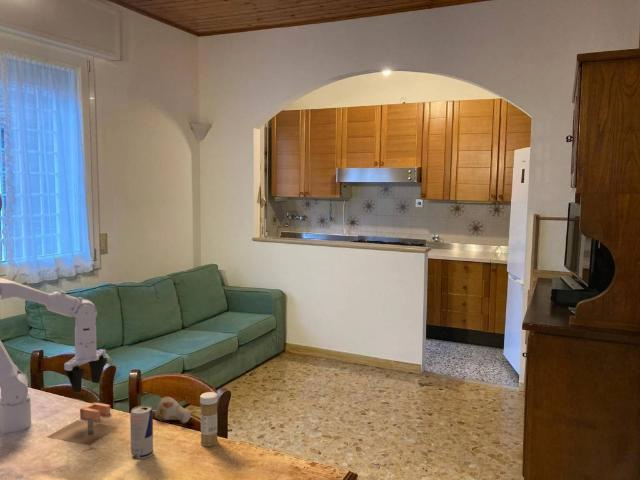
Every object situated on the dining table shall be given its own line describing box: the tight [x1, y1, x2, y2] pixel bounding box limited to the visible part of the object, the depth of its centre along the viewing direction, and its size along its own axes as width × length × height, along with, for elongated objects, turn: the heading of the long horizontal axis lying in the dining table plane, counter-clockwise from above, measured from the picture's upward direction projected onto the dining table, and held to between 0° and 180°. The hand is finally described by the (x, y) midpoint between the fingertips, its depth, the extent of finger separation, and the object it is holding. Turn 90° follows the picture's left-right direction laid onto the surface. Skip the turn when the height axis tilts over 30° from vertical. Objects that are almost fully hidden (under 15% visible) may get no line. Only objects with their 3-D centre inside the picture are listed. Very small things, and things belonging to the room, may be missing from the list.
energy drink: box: [129, 405, 154, 461], centre depth 129 cm, size 5×5×12 cm
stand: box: [46, 418, 119, 446], centre depth 138 cm, size 14×11×6 cm
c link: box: [79, 401, 111, 421], centre depth 149 cm, size 6×5×4 cm
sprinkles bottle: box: [199, 391, 219, 447], centre depth 136 cm, size 5×5×14 cm
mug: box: [154, 396, 192, 424], centre depth 149 cm, size 8×10×10 cm
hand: (86, 386), depth 149 cm, fingers open, 7 cm apart
